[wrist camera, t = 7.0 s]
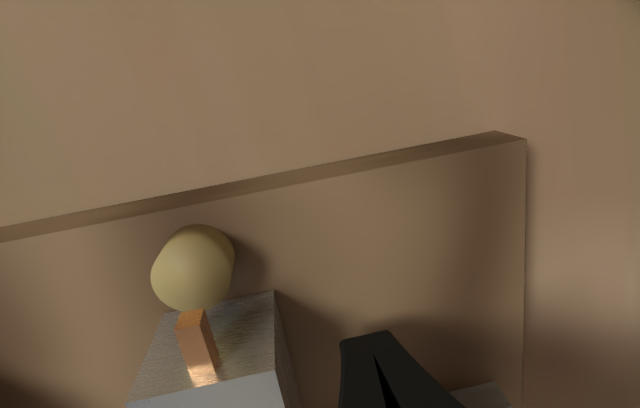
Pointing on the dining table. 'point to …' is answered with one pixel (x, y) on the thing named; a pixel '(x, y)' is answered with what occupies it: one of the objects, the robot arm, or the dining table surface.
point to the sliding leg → (218, 359)
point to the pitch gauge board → (283, 274)
